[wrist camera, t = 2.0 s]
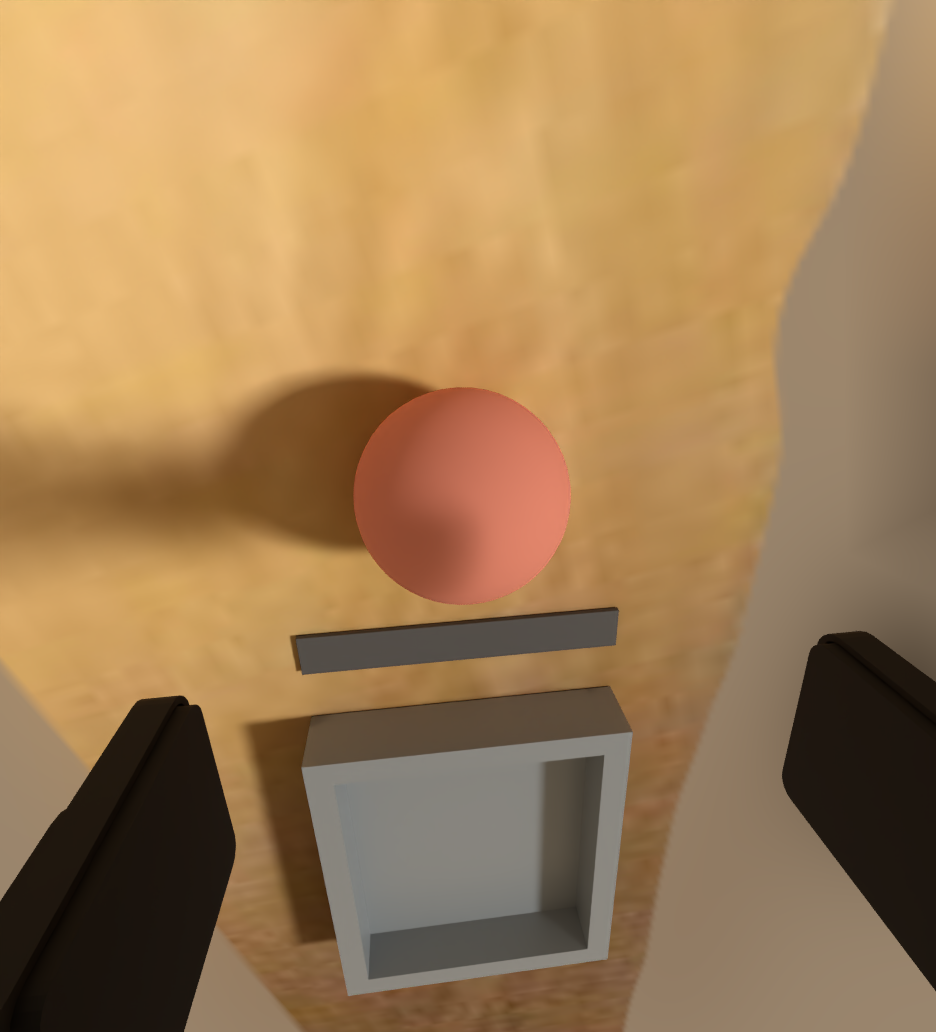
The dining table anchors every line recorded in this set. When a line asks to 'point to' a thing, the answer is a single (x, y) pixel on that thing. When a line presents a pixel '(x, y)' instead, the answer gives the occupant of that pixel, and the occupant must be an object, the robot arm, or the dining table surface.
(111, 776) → the robot arm
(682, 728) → the dining table surface
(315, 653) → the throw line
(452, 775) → the tray
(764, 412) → the dining table surface
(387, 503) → the ball
